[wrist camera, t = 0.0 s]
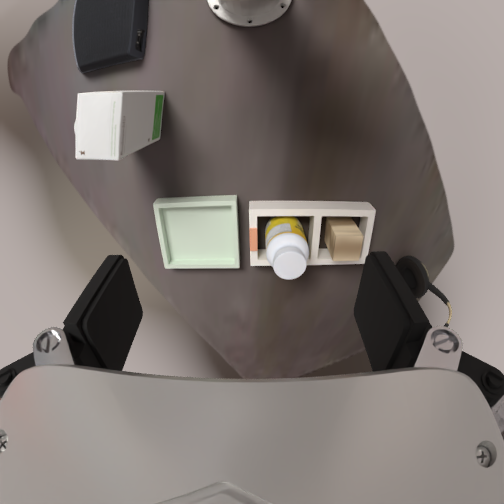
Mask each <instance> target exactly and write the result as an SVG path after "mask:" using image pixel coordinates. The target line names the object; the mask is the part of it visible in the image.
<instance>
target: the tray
mask: <svg viewBox="0 0 504 504" xmlns="http://www.w3.org/2000/svg"><path fill="white" fill-rule="evenodd" d="M153 206H154V213H155V218H156V224H157V230H158V235H159V241H160V246H161V251H162V256H163V261H164V266H165V268H239V267H240V249H239V228H238V205H237V195H221V196H194V197H174V198H157V200H156V201H155V202H154V203H153Z"/></svg>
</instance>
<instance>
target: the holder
mask: <svg viewBox="0 0 504 504" xmlns="http://www.w3.org/2000/svg"><path fill="white" fill-rule="evenodd" d="M375 213H376V210H375V209H374V208H373V206H372V205H371V204H370V203H369V202H346V201H249V223H250V261H251V266H271V265H270V264H269V262H268V260H267V256H266V249H257V216H310V224H309V237H308V247H309V257H308V259H307V261H306V264H307V265H336V264H364V263H365V259H366V256H367V255H368V251H369V246H370V241H371V236H372V230H373V224H374V219H375ZM322 216H355V217H360V223H359V230H360V231H361V233H362V235H363V242H362V247H361V253H360V258H359V261H333V260H332V258H331V255H330V253H329V250H328V248H325V249H319V240H320V230H321V219H322Z"/></svg>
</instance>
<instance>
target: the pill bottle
mask: <svg viewBox="0 0 504 504" xmlns="http://www.w3.org/2000/svg"><path fill="white" fill-rule="evenodd" d="M265 239H266V256H267V260H268V262H269V264H270V265H271V266H272V267H273V268H274V271H275V273H276V274H277V275H278V276H279V277H281V278H283V279H295V278H298V277H299V276H301V275H302V274H303V273H304V271H305V269H306V265H307V264H306V261H307V259H308V257H309V247H308V244H307V241H306V237H305V234H304V231H303V228H302V225H301V223H300V221H299V220H298V219H297V218H296V217H295V216H273V217H272V218H271V219H270V220H269V221H268V222H267V224H266V227H265Z"/></svg>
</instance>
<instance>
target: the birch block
mask: <svg viewBox="0 0 504 504" xmlns="http://www.w3.org/2000/svg"><path fill="white" fill-rule="evenodd" d="M324 241H325V243H326V245H327V248H328V250H329V253H330V255H331V258H332V260H333V261H359V258H360V253H361V247H362V242H363V235H362V233H361V231H360V230H359V228H358V227H357V225H356V224H355V222H354V221H353V219H352V218H351V217H327V218H326V228H325V238H324Z"/></svg>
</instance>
